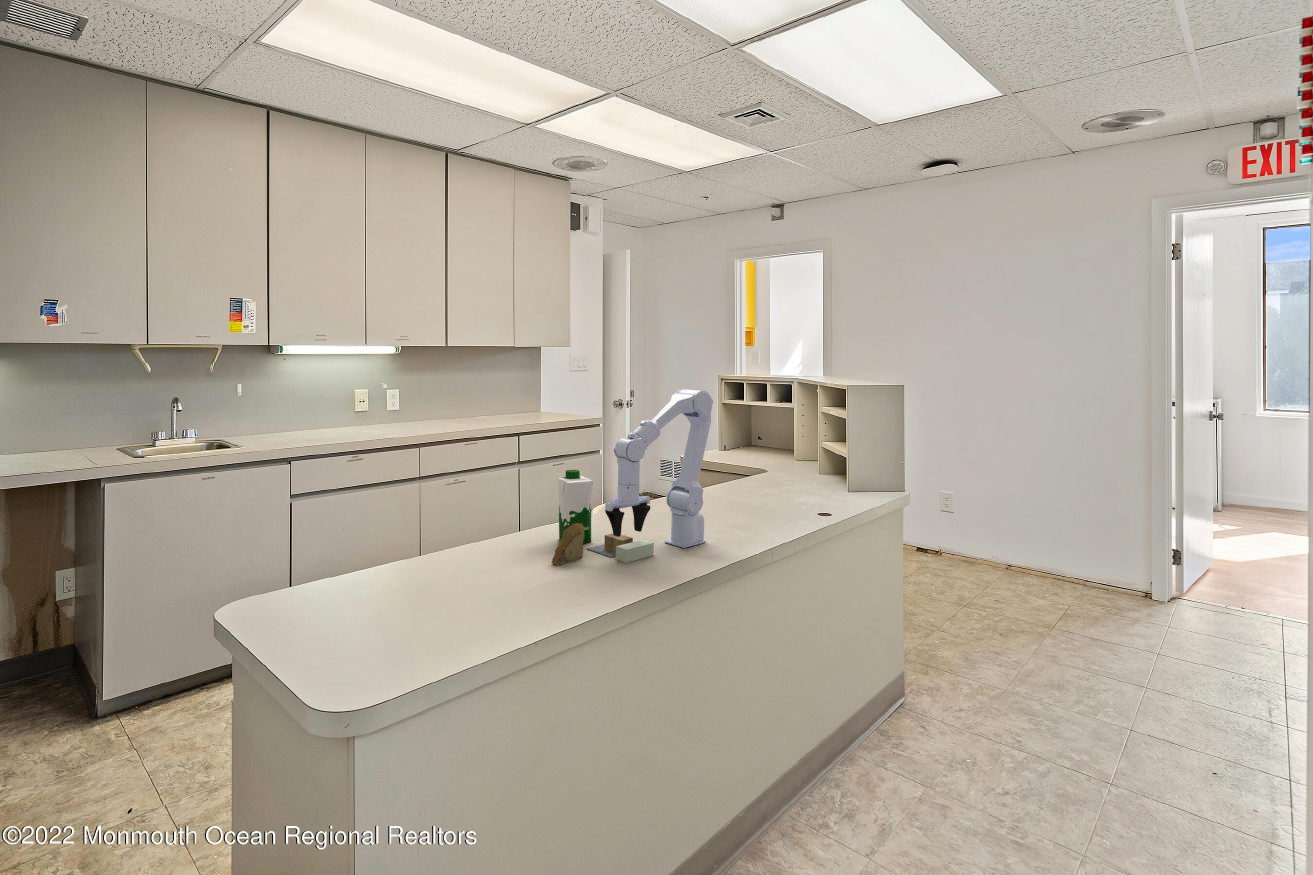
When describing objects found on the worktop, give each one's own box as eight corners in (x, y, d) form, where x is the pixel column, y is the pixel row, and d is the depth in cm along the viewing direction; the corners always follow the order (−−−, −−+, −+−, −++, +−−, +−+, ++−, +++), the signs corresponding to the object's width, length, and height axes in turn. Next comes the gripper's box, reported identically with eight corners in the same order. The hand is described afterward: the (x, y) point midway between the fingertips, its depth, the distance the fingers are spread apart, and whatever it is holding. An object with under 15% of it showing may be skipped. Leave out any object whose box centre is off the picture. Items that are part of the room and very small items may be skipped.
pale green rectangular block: (643, 552, 187) (643, 539, 187) (653, 555, 184) (653, 542, 184) (615, 559, 180) (615, 546, 180) (626, 562, 177) (626, 549, 177)
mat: (616, 542, 196) (616, 541, 196) (640, 549, 189) (640, 548, 189) (586, 549, 189) (586, 548, 189) (610, 557, 182) (610, 556, 181)
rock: (557, 560, 170) (593, 550, 175) (546, 529, 173) (582, 520, 178) (548, 575, 179) (583, 565, 184) (537, 545, 182) (572, 536, 187)
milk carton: (582, 535, 203) (583, 468, 201) (595, 542, 195) (596, 473, 193) (554, 538, 199) (555, 470, 196) (567, 546, 191) (567, 475, 188)
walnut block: (632, 552, 186) (615, 546, 191) (632, 537, 185) (615, 532, 190) (621, 555, 183) (604, 549, 188) (621, 540, 182) (604, 535, 187)
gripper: (638, 478, 190) (637, 526, 192) (597, 484, 180) (597, 534, 181) (656, 481, 185) (654, 531, 187) (615, 488, 175) (614, 540, 176)
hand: (627, 533), depth 184 cm, fingers open, 7 cm apart
